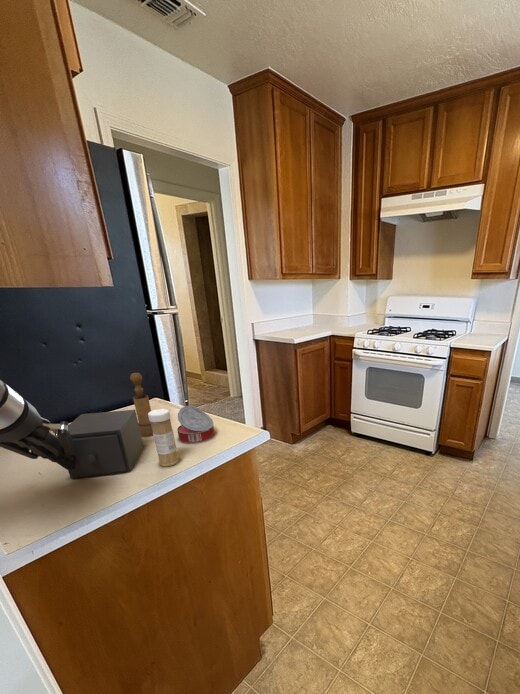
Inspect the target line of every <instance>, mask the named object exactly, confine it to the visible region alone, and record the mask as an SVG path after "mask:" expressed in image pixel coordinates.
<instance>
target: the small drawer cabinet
mask: <svg viewBox="0 0 520 694" xmlns="http://www.w3.org/2000/svg"><path fill="white" fill-rule="evenodd" d="M138 423H139V421H138V417H137V412H136V409H125V410H112V411H104V412H103V411H102V412H101V411H100V412H92V413H82V414H80V415H79V416H77V417H76V418H75V419H74V420H73V421H72V422H70V423H69V424H68V431H69V433H70V435H71V437H72V438H76V437H86V436H96V435H106V434H116V433H117V434H118V436H119V440H120V444H121V448H122V452H123V455H124V459H125V463H126V467H127V469H126V471H118V472H109V473H101V474H93V475H85V476H76V477H70V476H69V477H70V479H79V478H87V477H95V476H103V475H110V474H111V475H112V474H119V473H128V472H131V471H132V469H133V468H134V466H135V464H136V462H137V460H138V458H139V456H140V454H141V453H142V451H143V449H144V447H145V445H144V444H145V443H144V440H143V437H142V436H141V432H140V428H139V424H138ZM57 438H58V437H57Z"/></svg>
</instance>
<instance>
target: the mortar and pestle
mask: <svg viewBox="0 0 520 694" xmlns="http://www.w3.org/2000/svg"><path fill="white" fill-rule="evenodd" d="M129 379H130V381H131V382H132V384H133V385H134V388H133V390H134V393H135V394H136V395H135V396H133V397H132V400H133V405H134V409H135V411H136V415H137V419H138V424H139V428H140V432H141V436H142V438H143V437H144V438H145V437H151V436H153V430H152V426H151V423H150V421H149V417H148V413H149V412H151V411H152V409H151V403H150V400H149V399H150V398H149V395H147V394H144V388H143V387H142V381H143V376H142V374H141V373H140V372H133V373H130V376H129Z"/></svg>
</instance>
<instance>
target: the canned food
mask: <svg viewBox="0 0 520 694" xmlns="http://www.w3.org/2000/svg"><path fill="white" fill-rule="evenodd" d="M177 420H178V422H179V424H180V425H179V426H177V428H176V431H177V437H178V440H179V442H180V443H184V444H199V443H204V442H207V441H209V440H211V439H213V438H214V437H215V434H216V433H215V428H214V421H213V418H211V416H210V415H209V414H207V413H206V412H205V411H203V410H201V409H200V408H199V407H197V406H194V405H185V406H183V407H181V408H179V411H178V412H177Z"/></svg>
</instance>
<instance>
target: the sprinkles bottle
mask: <svg viewBox="0 0 520 694" xmlns="http://www.w3.org/2000/svg"><path fill="white" fill-rule="evenodd" d="M148 417H149V421H150V423H151V426H152V430H153V435H152V436H153V440H154V441H153V442H154V445H155V448H156V450H155V451H156V453H157V457H158V460H159V461H158V462H159V466H162V467H171V466H174V465H176V464H178V463H179V461H180V459H179V455H178V452H177V443H176V439H175V434H174V429H173V427H172V421H171V411H170V410H169V409H167V408H158V409H153V410H151V412H149V413H148Z"/></svg>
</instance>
